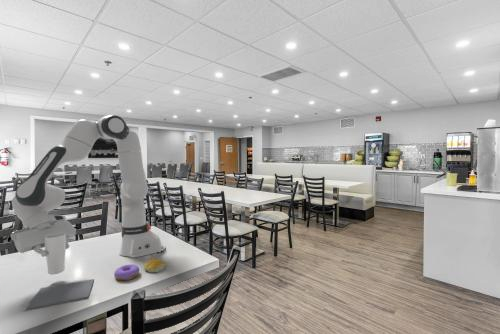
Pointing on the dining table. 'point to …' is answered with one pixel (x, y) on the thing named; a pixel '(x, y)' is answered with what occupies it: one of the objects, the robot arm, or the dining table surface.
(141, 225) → the robot arm
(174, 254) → the dining table surface
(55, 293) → the rubber mat
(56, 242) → the drinking glass
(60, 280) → the dining table surface
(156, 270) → the bread roll
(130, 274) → the donut
